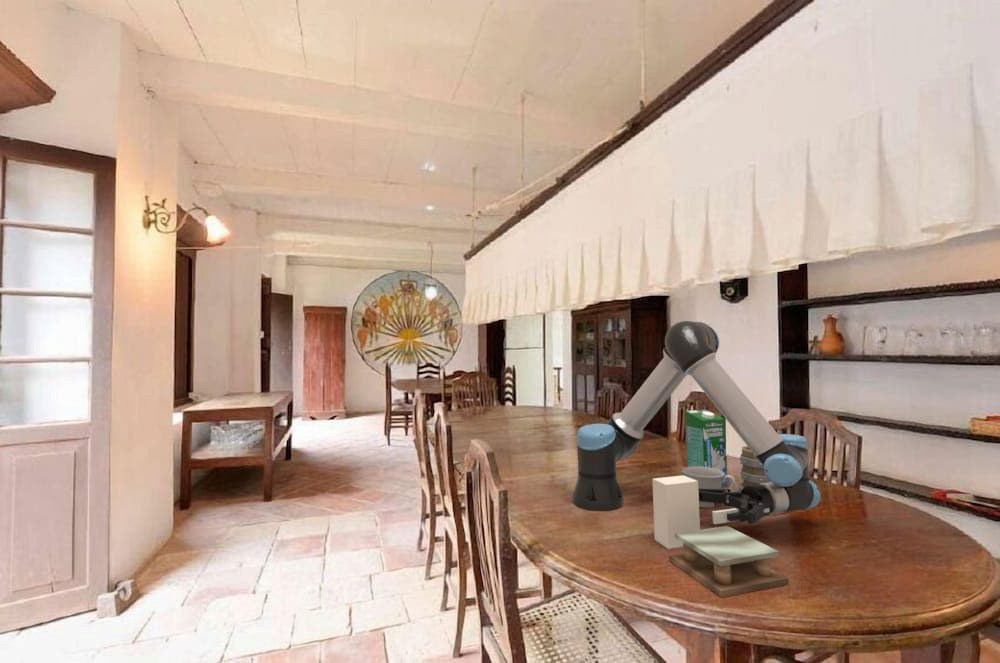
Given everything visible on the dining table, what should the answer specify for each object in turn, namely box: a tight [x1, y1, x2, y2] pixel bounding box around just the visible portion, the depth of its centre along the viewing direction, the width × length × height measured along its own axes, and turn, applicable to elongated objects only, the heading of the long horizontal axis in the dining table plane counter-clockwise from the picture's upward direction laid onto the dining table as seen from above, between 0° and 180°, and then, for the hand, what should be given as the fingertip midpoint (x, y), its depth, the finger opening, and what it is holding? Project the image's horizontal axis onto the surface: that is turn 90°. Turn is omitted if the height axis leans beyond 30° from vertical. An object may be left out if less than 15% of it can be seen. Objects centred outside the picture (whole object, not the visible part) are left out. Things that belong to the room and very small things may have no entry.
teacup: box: [680, 466, 736, 509], centre depth 137 cm, size 12×15×10 cm
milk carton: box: [684, 409, 728, 487], centre depth 159 cm, size 9×9×25 cm
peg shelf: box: [668, 525, 790, 598], centre depth 96 cm, size 16×16×6 cm
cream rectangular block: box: [652, 474, 701, 550], centre depth 112 cm, size 6×9×15 cm, turn 105°
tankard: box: [738, 445, 771, 492], centre depth 149 cm, size 20×13×15 cm, turn 105°
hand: (693, 508), depth 112 cm, fingers open, 13 cm apart
